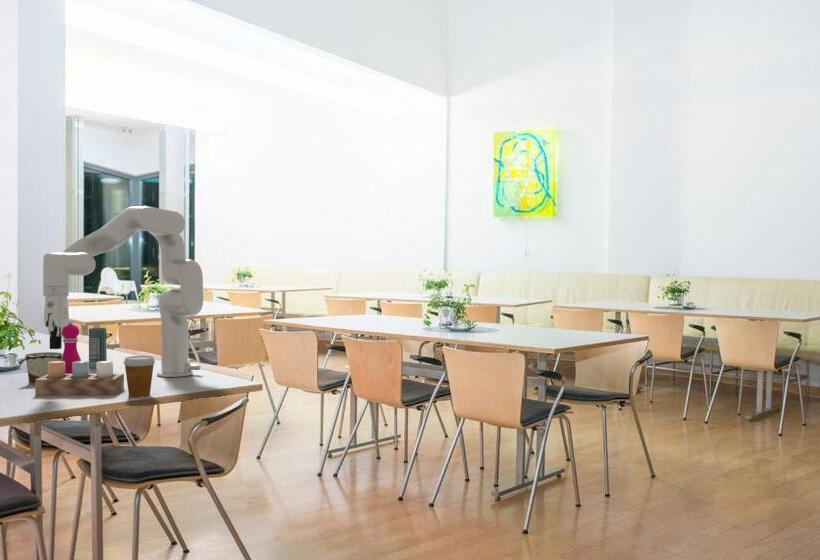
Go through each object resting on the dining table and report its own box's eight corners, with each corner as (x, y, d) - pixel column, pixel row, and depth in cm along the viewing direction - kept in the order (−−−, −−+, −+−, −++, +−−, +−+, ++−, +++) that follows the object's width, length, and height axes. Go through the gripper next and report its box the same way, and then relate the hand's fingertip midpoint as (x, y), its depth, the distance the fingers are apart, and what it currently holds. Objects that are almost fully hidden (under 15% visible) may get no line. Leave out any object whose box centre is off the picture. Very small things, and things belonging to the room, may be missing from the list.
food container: (64, 379, 289) (64, 351, 288) (63, 382, 283) (63, 353, 282) (25, 381, 284) (25, 352, 284) (24, 384, 278) (24, 354, 278)
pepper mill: (73, 377, 295) (73, 321, 294) (55, 376, 296) (55, 320, 295) (85, 374, 302) (85, 319, 301) (67, 373, 303) (67, 319, 302)
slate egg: (91, 380, 268) (91, 361, 268) (86, 383, 263) (86, 363, 263) (75, 380, 267) (75, 361, 267) (70, 383, 262) (70, 363, 262)
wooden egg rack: (123, 388, 272) (123, 373, 272) (114, 395, 260) (114, 379, 260) (48, 388, 270) (48, 373, 270) (35, 395, 258) (35, 379, 258)
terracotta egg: (67, 380, 267) (67, 361, 267) (62, 383, 262) (62, 363, 262) (51, 380, 267) (51, 361, 266) (45, 383, 262) (45, 363, 261)
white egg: (114, 380, 268) (114, 361, 268) (110, 383, 264) (110, 363, 263) (99, 380, 268) (98, 361, 268) (94, 383, 263) (94, 363, 263)
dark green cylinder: (108, 366, 322) (108, 328, 321) (101, 368, 316) (101, 329, 315) (94, 366, 322) (93, 327, 322) (86, 368, 316) (86, 329, 316)
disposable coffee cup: (118, 395, 260) (118, 357, 260) (146, 391, 267) (146, 354, 266) (132, 399, 253) (132, 360, 253) (160, 395, 260) (160, 357, 260)
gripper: (60, 292, 256) (59, 351, 257) (75, 290, 271) (75, 346, 272) (35, 292, 255) (34, 351, 256) (51, 290, 270) (51, 346, 271)
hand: (55, 348), depth 264 cm, fingers closed
